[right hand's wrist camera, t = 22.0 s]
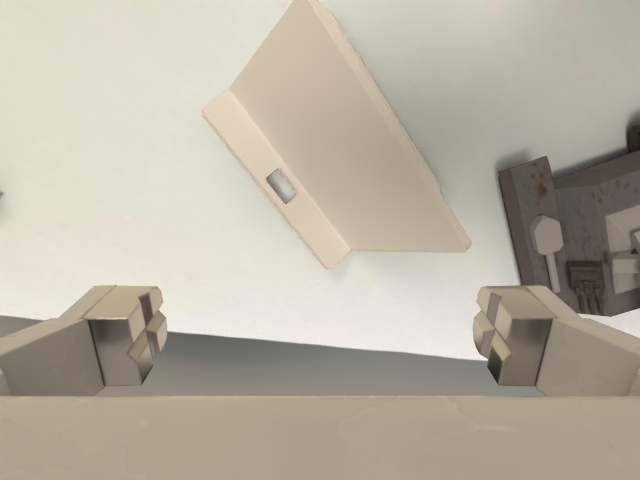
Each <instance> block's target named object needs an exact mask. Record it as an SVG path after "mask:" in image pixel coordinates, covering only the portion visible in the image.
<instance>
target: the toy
mask: <svg viewBox="0 0 640 480" xmlns="http://www.w3.org/2000/svg"><path fill="white" fill-rule="evenodd" d="M628 138H629V148H630V154H627V155H624V156H621V157H619V158H616V159H613V160H610V161H607V162H604V163H601V164H598V165H596V166H593V167H590V168H587V169H584V170H581V171H578V172H576V173H573V174H570V175H567V176H564V177H561V178H558V179H555V180H552V174H551V169H550V165H549V162H548V159H547V156H545V157H542V158H539V159H536V160H533V161H530V162H527V163H525V164H522V165H519V166H516V167H513V168H510V169H507V170H502V171H499V183H500V187H501V192H502V196H503V200H504V205H505V209H506V214H507V218H508V223H509V227H510V232H511V236H512V241H513V245H514V250H515V254H516V258H517V263H518V267H519V272H520V276H521V281H522V285H523V286H534V285H542V286H546V287H547V288H548V289H550V290H551V291H552V292H553V293H554V294H555V295H556V296H557V297H559V298H560V299H561V300H562V301H563V302H564V303H565V304H567V305H568V306H569V307H570V308H571V309H572V310H573V311H574V312H576V313H580V314H590V315H600V316H610V317H611V316H615V315H618V314H621V313H625V312H628V311H631V310H635V309H638V308H640V124H639V125H637V126H634V127H632V128H631V129H630V130H629V133H628Z"/></svg>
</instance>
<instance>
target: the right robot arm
mask: <svg viewBox="0 0 640 480" xmlns="http://www.w3.org/2000/svg"><path fill="white" fill-rule="evenodd" d="M162 303H163V299H162V294H161V290H160V289H159V288H158V287H157V286H117V285H107V286H94V287H93V288H92V289H91V290H89V291H88V292H87V293H86V294H85V295H84V296H83V297H81V298H80V299H79V300H78V301H77V302H76V303H75V304H74V305H72V306H71V307H70V308H69V309H68V310H67V311H66V312H64V313H63V314H62V315H61V316H60V317H59V318H58V319H49V320H46V321H43V322H41V323H38V324H36V325H33V326H31V327H28V328H25V329H23V330H20V331H18V332H15V333H13V334H10V335H8V336H5V337H2V338H0V480H640V338H638V337H635V336H632V335H630V334H627V333H625V332H622V331H620V330H617V329H615V328H612V327H609V326H607V325H604V324H602V323H599V322H597V321H594V320H591V319H582V318H581V317H580V316H579V315H578V314H577V313H576V312H574V311H573V310H572V309H571V308H570V307H569V306H568V305H567V304H565V303H564V302H563V301H562V300H561V299H560V298H559V297H557V296H556V295H555V294H554V293H553V292H552V291H551V290H550V289H548V288H547V287H546V286H542V285H534V286H486V287H481V289H480V291H479V293H478V298H477V303H478V305H479V307H480V308H481V311H480V312H479V313H478V314H477V315H476V316H475V317H474V323H473V338H474V342H475V345H476V348H477V350H478V352H479V353H480V354H481V355H482V356H484V357H486V358H487V359H488V364H487V367H488V369H489V370H490V372H491V374H492V375H493V377H494V379H495V380H496V382H497V383H498V385H503V386H536V389H538V390H539V391H540V392H542V393H543V394H544V395H546V396H94V395H96V394H97V393H98V392H100V391H101V390H103V389H104V386H136V385H142V384H143V382H144V380H145V378H146V377H147V375H148V374H149V372H150V370H151V369H152V367H153V364H152V359H153V358H154V357H156V356H158V355H159V354H160V353H161V352H162V350H163V348H164V346H165V341H166V337H167V322H166V317H165V316H164V315H163V314H162V313H161V312H160V311H159V308H160V307H161V305H162Z"/></svg>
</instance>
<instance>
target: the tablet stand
mask: <svg viewBox="0 0 640 480" xmlns="http://www.w3.org/2000/svg"><path fill="white" fill-rule="evenodd" d="M202 115H203V117H204V118H205V120H206V121H207V122H208V123H209V125H210V126H211V127H212V128H213V130H214V131H215V132H216V133H217V135H218V136H219V137H220V138H221V140H222V141H223V142H224V143H225V145H226V146H227V147H228V148H229V150H230V151H231V152H232V153H233V155H234V156H235V157H236V158H237V160H238V161H239V162H240V163H241V165H242V166H243V167H244V168H245V170H246V171H247V172H248V173H249V175H250V176H251V177H252V178H253V180H254V181H255V182H256V183H257V185H258V186H259V187H260V188H261V190H262V191H263V192H264V193H265V194H266V196H267V197H268V198H269V199H270V201H271V202H272V203H273V204H274V206H275V207H276V208H277V209H278V211H279V212H280V213H281V214H282V216H283V217H284V218H285V219H286V221H287V222H288V223H289V224H290V226H291V227H292V228H293V229H294V231H295V232H296V233H297V234H298V236H299V237H300V238H301V239H302V241H303V242H304V243H305V244H306V246H307V247H308V248H309V249H310V251H311V252H312V253H313V254H314V256H315V257H316V258H317V259H318V261H319V262H320V263H321V264H322V266H323V267H324V268H326V269H334V268H335V267H336V266H337V265H338V264H339V263H340V261H341V260H342V259H343V258H344V257H345V256H346V255H347V254H348V253H349V252H350V251H399V252H448V253H465V252H466V251H467V250H468V248H469V247H470V246H471V244H472V243H471V240H470V239H469V237H468V235H467V234H466V232H465V231H464V229H463V227H462V226H461V224H460V223H459V221H458V220H457V218H456V216H455V215H454V213H453V212H452V210H451V209H450V207H449V205H448V204H447V202H446V201H445V199H444V197H443V196H442V194H441V193H440V190H441V186H440V184H439V183H438V181H437V180H436V178H435V176H434V175H433V173H432V172H431V170H430V169H429V167H428V165H427V164H426V162H425V161H424V159H423V157H422V156H421V154H420V153H419V151H418V149H417V148H416V146H415V145H414V143H413V142H412V140H411V138H410V137H409V135H408V134H407V132H406V130H405V129H404V127H403V126H402V124H401V122H400V121H399V119H398V118H397V116H396V115H395V113H394V111H393V110H392V108H391V107H390V105H389V103H388V102H387V100H386V99H385V97H384V95H383V94H382V92H381V91H380V89H379V88H378V86H377V84H376V83H375V81H374V80H373V78H372V76H371V75H370V73H369V72H368V70H367V68H366V67H365V65H364V64H363V62H362V61H361V59H360V57H359V56H358V54H357V53H356V51H355V49H354V48H353V46H352V45H351V43H350V41H349V40H348V38H347V37H346V35H345V33H344V32H343V30H342V29H341V27H340V26H339V24H338V22H337V21H336V19H335V18H334V16H333V14H332V13H331V12H330V11H328V10H324V8H323V6H322V5H321V3H320V2H319V0H294V1H293V2H292V4H291V5H290V6H289V8H288V9H287V11H286V12H285V13H284V15H283V16H282V17H281V19H280V20H279V21H278V23H277V24H276V26H275V27H274V28H273V30H272V31H271V32H270V34H269V35H268V36H267V38H266V39H265V40H264V42H263V43H262V45H261V46H260V47H259V49H258V50H257V51H256V53H255V54H254V55H253V57H252V58H251V60H250V61H249V62H248V64H247V65H246V66H245V68H244V69H243V70H242V72H241V73H240V74H239V76H238V77H237V79H236V80H235V81H234V83H233V84H232V85H231V87H230V88H229V89H228V90H227V91H226V92H224V93H223V94H221V95H220V96H219V97H217V98H216V99H214V100H213V101H211V102H210V103H209V104H207V105H206V106H205V107H204V109H203V111H202ZM276 169H278V170H279V171H280V173H281V174H282V175H283V177H284V178H285V179H286V180H287V182H288V183H289V184H290V186H291V187H292V188H293V190H294V191H295V192H296V195H295V196H294V197H293V198H292V199H291V200H290V201H289V202H288V203H286V204H284V203H283V201H282V200H281V199H280V198H279V196H278V195H277V194H276V192H275V191H274V190H273V189H272V187H271V186H270V185H269V184H268V182H267V181H266V178H267V177H268V176H269V175H270V174H271V173H272V172H273V171H275V170H276Z"/></svg>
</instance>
